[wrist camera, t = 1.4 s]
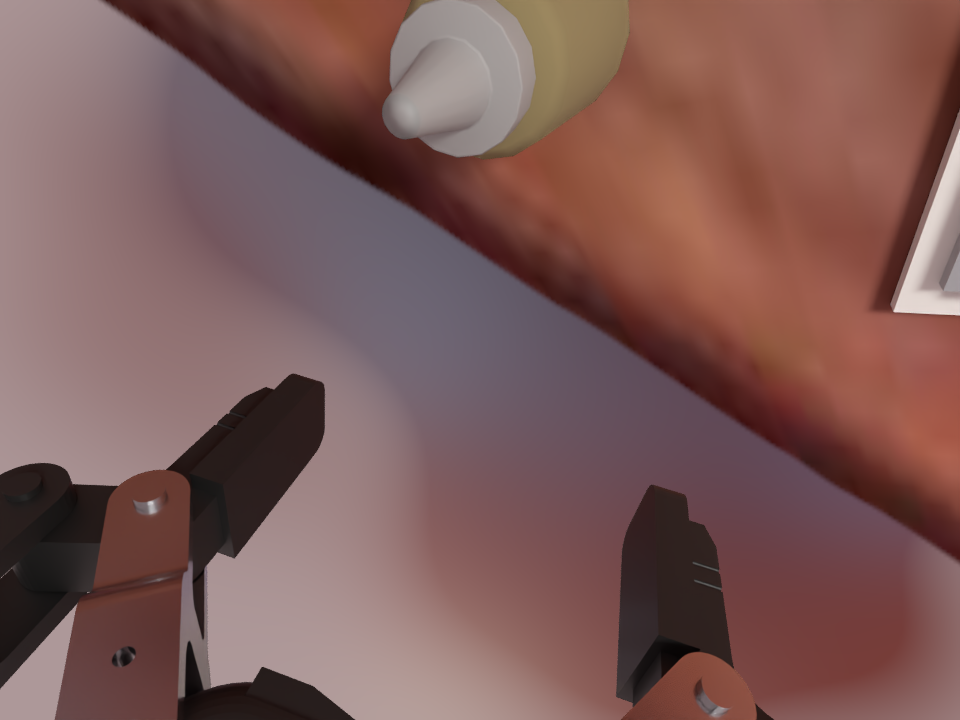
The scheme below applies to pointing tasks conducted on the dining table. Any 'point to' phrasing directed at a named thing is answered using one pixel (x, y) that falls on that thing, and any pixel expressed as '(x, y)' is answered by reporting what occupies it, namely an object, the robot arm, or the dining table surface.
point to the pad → (936, 244)
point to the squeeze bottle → (499, 70)
